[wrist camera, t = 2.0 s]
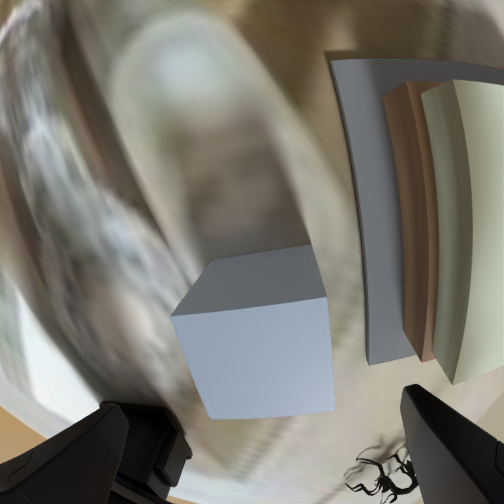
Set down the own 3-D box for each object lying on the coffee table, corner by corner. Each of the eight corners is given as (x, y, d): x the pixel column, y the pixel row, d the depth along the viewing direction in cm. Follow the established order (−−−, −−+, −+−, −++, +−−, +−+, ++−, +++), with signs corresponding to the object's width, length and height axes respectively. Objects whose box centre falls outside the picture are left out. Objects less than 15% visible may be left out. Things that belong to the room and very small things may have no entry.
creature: (358, 482, 22) (432, 467, 18) (351, 525, 17) (432, 512, 14) (334, 453, 20) (424, 433, 17) (324, 505, 16) (426, 490, 12)
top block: (233, 342, 16) (210, 419, 11) (212, 259, 15) (170, 316, 9) (322, 331, 16) (335, 410, 10) (311, 243, 14) (326, 296, 8)
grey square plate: (366, 359, 16) (368, 365, 15) (329, 64, 11) (331, 60, 11) (546, 302, 13) (550, 305, 13) (541, 82, 9) (546, 81, 8)
